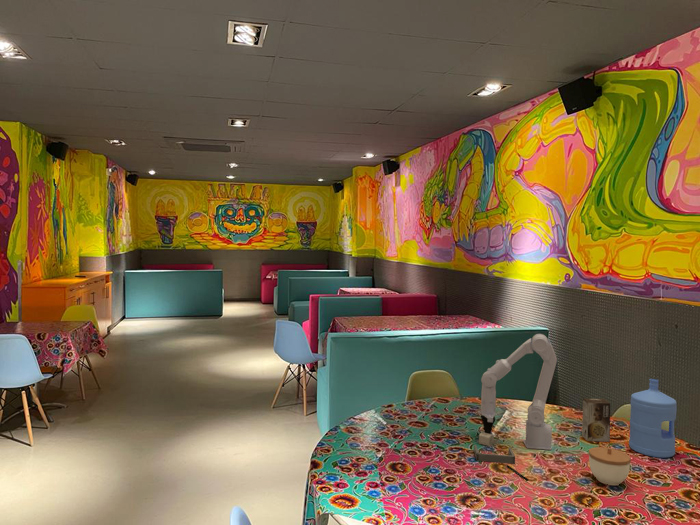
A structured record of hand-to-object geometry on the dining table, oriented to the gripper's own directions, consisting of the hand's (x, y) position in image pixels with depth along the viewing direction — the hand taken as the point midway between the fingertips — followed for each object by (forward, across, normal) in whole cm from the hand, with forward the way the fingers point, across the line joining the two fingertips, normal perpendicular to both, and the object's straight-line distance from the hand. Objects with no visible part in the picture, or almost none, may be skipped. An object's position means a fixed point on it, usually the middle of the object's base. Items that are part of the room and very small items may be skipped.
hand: (487, 434), depth 208 cm
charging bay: (+2, +19, 0) cm, 19 cm away
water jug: (+2, 0, +63) cm, 63 cm away
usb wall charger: (+2, +7, 0) cm, 7 cm away
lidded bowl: (+2, +32, +36) cm, 48 cm away
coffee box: (+2, -9, +45) cm, 46 cm away
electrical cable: (+2, +32, +6) cm, 32 cm away
